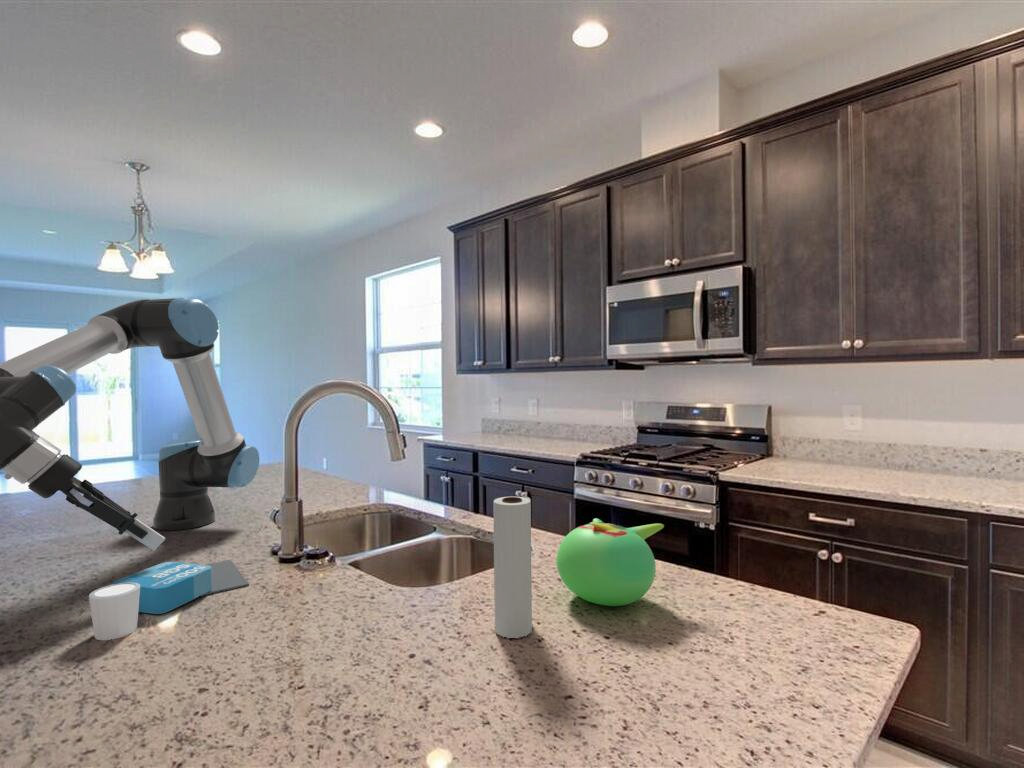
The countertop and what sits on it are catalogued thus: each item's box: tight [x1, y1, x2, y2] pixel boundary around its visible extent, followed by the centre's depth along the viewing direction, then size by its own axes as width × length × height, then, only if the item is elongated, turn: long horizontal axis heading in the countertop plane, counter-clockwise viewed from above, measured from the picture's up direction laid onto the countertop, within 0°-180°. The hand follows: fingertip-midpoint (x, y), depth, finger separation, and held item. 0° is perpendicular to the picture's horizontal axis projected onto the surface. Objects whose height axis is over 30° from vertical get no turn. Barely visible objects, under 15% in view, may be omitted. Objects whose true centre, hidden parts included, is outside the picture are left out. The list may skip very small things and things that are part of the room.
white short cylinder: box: [88, 582, 140, 641], centre depth 89 cm, size 7×7×7 cm
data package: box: [112, 561, 212, 615], centre depth 102 cm, size 12×4×12 cm
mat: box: [201, 559, 250, 597], centre depth 111 cm, size 16×18×1 cm
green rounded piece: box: [556, 517, 665, 607], centre depth 100 cm, size 18×17×15 cm
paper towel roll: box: [492, 493, 533, 639], centre depth 88 cm, size 7×6×21 cm
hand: (159, 543), depth 107 cm, fingers closed
